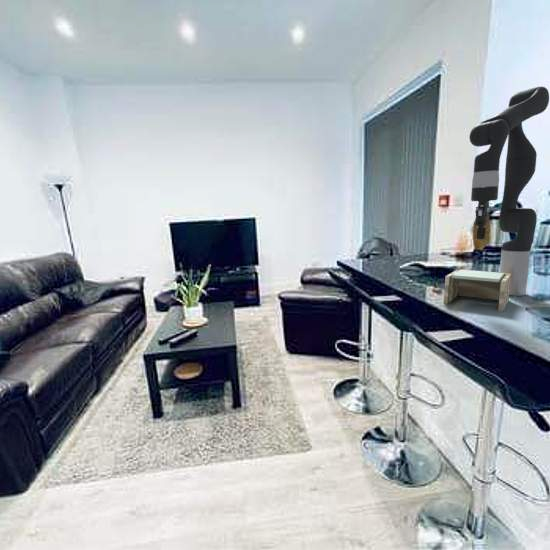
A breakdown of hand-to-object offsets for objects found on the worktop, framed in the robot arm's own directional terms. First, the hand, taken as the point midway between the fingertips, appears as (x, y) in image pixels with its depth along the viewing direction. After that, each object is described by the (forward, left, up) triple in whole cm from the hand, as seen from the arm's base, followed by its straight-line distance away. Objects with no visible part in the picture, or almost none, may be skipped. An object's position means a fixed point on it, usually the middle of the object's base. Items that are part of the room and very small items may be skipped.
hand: (481, 238), depth 113 cm
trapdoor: (-5, -1, -14) cm, 15 cm away
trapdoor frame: (-4, -1, -24) cm, 24 cm away
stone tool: (0, 0, -4) cm, 4 cm away
